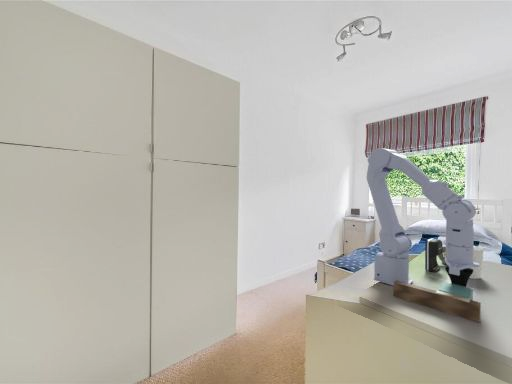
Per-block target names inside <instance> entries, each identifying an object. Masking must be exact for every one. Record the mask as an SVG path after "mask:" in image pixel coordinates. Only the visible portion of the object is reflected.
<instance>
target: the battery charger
mask: <svg viewBox="0 0 512 384" xmlns="http://www.w3.org/2000/svg"><path fill="white" fill-rule="evenodd" d="M424 245H425V247H424V250H425V251H424V257H425V259H424V267H425V268H424V269H425V271H427V272H434V273H436V272H438V271H439V270H440V269H441V266H440V265H439V263H438V261H437V260H438V258H437V257H438V255H440V254H442V252H443V247H444V246H443V240H441V239H437V238H429V239H426V240H425V244H424ZM443 253H444V252H443Z"/></svg>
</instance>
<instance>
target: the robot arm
mask: <svg viewBox="0 0 512 384" xmlns="http://www.w3.org/2000/svg"><path fill="white" fill-rule="evenodd" d="M367 163H368V167H367V172H366V181H367V184H368V187H369V191H370V194H371V197H372V198H371V199H372V200H373V204H374V207H375V211H376V213H377V217H378V220H379V221H378V222H379V224H380V227H381V228H380V230H379V233H378V235H379V245H378V246H379V249H380V251H378V252H377V253H376V254H375V256H374V276H373V277H374V278H373V280H374V281H376V282H379V283H384V284H387V285H390V286H393V287H394V281H396V280H397V281H401V282H405V283H408V284H413V282H414V281H413V279H410V278H409V276H410V275H409V267H410V265H409V264H410V263H409V261H410V260H409V255H410V254H409V251H410V250H411V248H412V245H413V243H412V239H411V238H410V237H409V236H408V234H407V233H406V230H405V227H403V226H402V225H401V224H400V222H399V218H398V216H397V212H396V209H395V207H394V204H393V201H392V197H391V193H390V190H389V188H388V185H387V184H388V183H387V182H386V178H387V177H388V175H389V174H390V173H391V172H392V171H393V170H397V171H400V172H402V173H403V174H404V175H406V177H408V178H409V179H410V180H412V181H413V182H414V183H416V185H418V186H419V187H421V194H422V196H424V197H425V198H426V199H427V200H429V202H431V203H432V204H433V206H435V207H436V208H438V209H439V210H441V213H442V216H443V218H444V219H445V223H446V227H445V243H446V244H445V246H446V256H445V257H446V258H445V262H446V264H447V265H446V264H445V266H444V268H445V271H446V273H447V275H448V277H449V280H450V283H452V284H456V285H460V286H464V287H468V286H467V285H468V281H469V279H470V278H469V277H470V276H471V275H472V273H473V269H471V268H470V267H479V263H475V262H473V246H474V242H475V241H474V234H475V233H474V230H475V229H474V219H473V218H474V217H475V216H476V214H477V208H476V206H475V205H474V204H473V203H472V201H470V200H468V199H464V198H465V197H464V195H462V194H457V192H455V191H454V190H453V189H452V188H450V187H449V183H448V182H447V181H441V180H439V179H432V178H430V177H429V176H428V175H427V174H426V172H424V171H422V170H421V169H420V168H419V167H418V166H417V165H416V164H415V163H414V162H413V161H411V160H410V159H409V158H408V157H407V156H406V155H404V154H402V153H400V152H399V151H398V150H396V149H388V148H383V147H378V148H375V149H373V151H372V152H371V153H370V155H369V156H368V158H367Z"/></svg>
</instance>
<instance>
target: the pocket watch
mask: <svg viewBox="0 0 512 384" xmlns="http://www.w3.org/2000/svg"><path fill="white" fill-rule="evenodd" d="M443 243H444V244H445V245H444V246H443V252H442V254H440V255H438V256H437V257H438V259H439V260H440V261H441V263H442V264H443V265H445V266H446V265H447V264H446V262H445V258H446V240H444V241H443ZM447 266H448V265H447Z"/></svg>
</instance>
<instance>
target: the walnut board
mask: <svg viewBox="0 0 512 384" xmlns="http://www.w3.org/2000/svg"><path fill="white" fill-rule="evenodd" d="M393 297H395V298H399V299H403V300H406V301H409V302H412V303H415V304H418V305H422V306H425V307H428V308H430V309H434V310H438V311H441V312H445V313H448V314H451V315H454V316H458V317H460V318H464V319H467V320H470V321H473V322H477V323H480V321H481V305H482V304H481V303H482V302H480V301H476V300H474V299H473V300H470V299H469V298H465V297H461V296H458V295H454V294H450V293H446V292H442V291H439V290H438V289H437V290H434V289H430V288H427V287H423V286H419V285H416V284H413V283H411V284H408V283H405V282H401V281H397V280H396V281H394V286H393Z"/></svg>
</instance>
